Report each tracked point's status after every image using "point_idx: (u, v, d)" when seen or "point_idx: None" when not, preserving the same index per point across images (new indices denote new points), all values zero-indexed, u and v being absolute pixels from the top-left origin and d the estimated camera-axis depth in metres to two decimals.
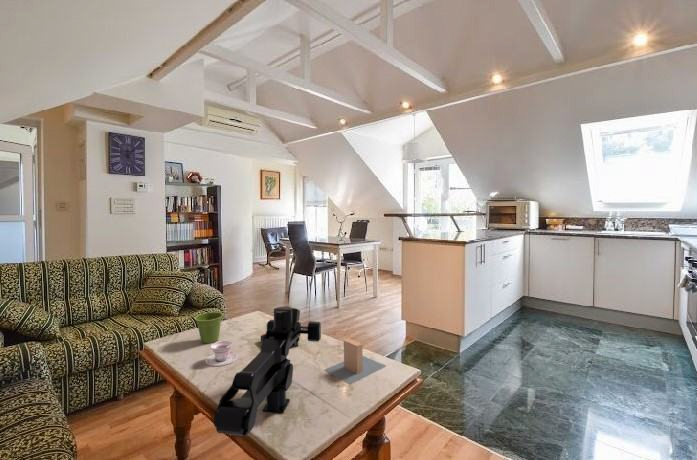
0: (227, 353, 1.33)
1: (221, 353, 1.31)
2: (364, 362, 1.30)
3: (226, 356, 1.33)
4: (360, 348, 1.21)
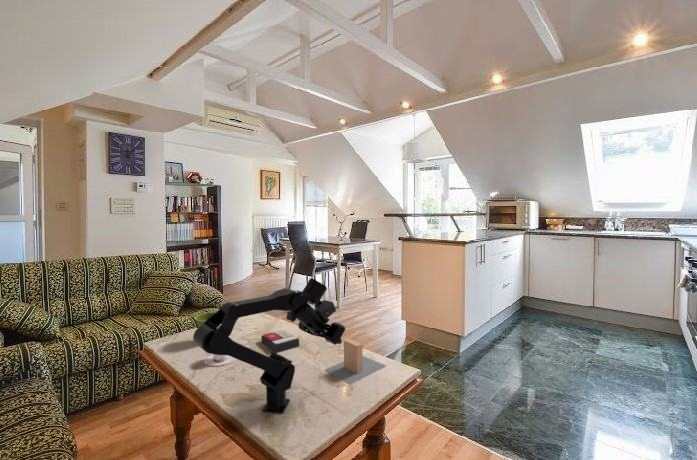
0: None
1: None
2: (364, 362, 1.30)
3: (225, 356, 1.33)
4: (360, 348, 1.21)
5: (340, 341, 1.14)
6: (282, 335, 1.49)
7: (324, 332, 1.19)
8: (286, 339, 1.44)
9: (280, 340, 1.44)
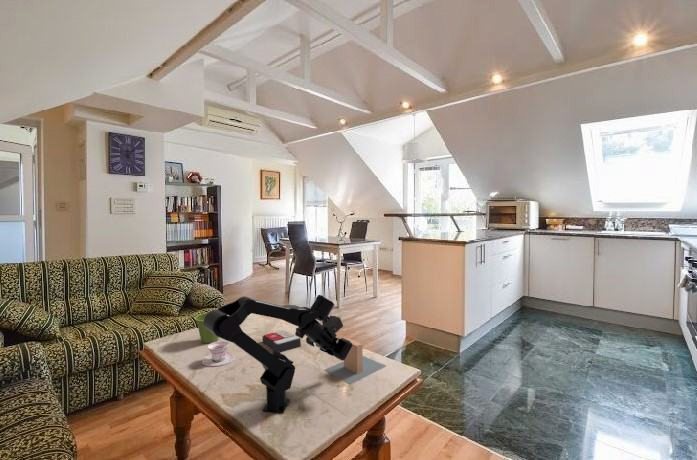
0: (224, 353, 1.33)
1: (218, 353, 1.31)
2: (364, 362, 1.30)
3: (223, 356, 1.33)
4: (360, 348, 1.21)
5: None
6: (283, 335, 1.49)
7: None
8: (288, 339, 1.44)
9: (282, 340, 1.43)
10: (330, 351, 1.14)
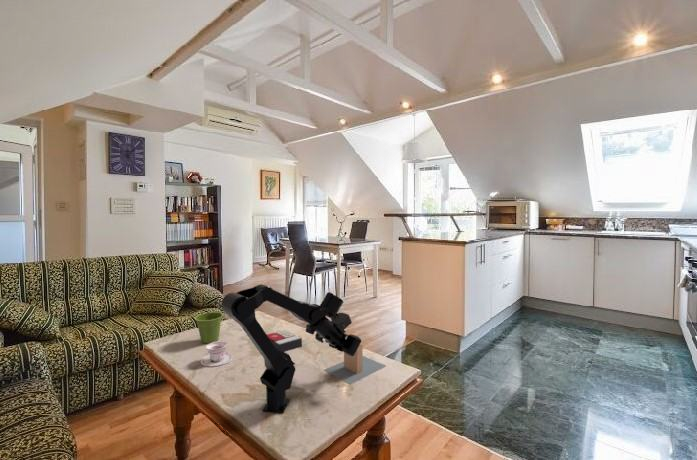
0: (222, 353, 1.33)
1: (216, 353, 1.31)
2: (364, 362, 1.30)
3: (221, 356, 1.32)
4: (360, 348, 1.21)
5: None
6: (284, 335, 1.49)
7: None
8: (289, 339, 1.44)
9: (283, 340, 1.43)
10: (339, 347, 1.17)
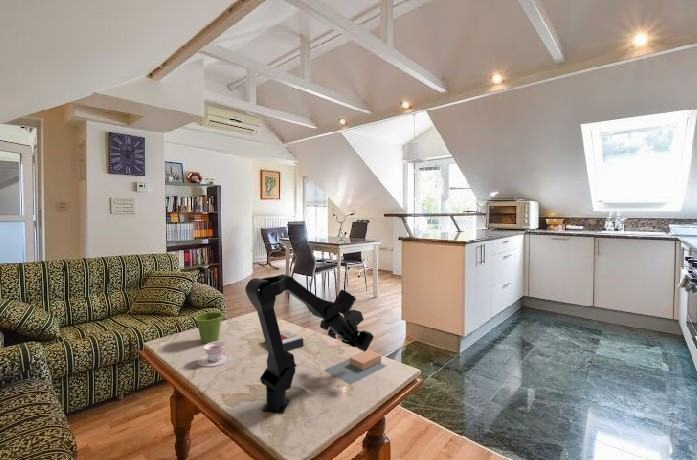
0: (220, 354, 1.33)
1: (214, 354, 1.31)
2: None
3: (219, 357, 1.32)
4: (379, 359, 1.29)
5: None
6: (286, 335, 1.49)
7: None
8: (290, 339, 1.44)
9: (285, 340, 1.43)
10: (352, 343, 1.21)
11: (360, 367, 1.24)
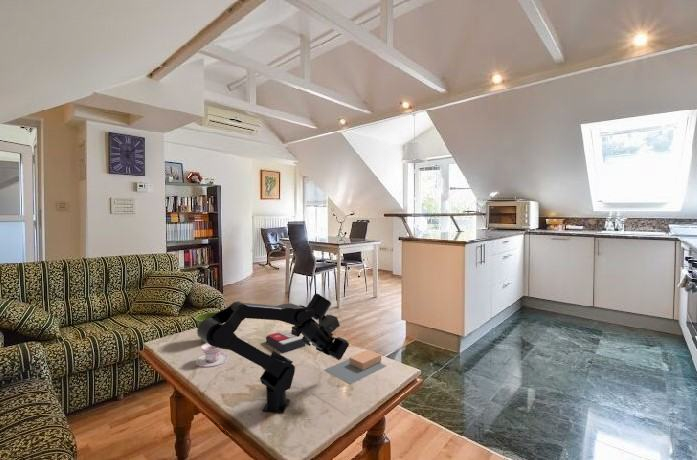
0: (218, 354, 1.33)
1: (212, 354, 1.31)
2: None
3: (217, 357, 1.32)
4: (379, 359, 1.29)
5: None
6: (287, 335, 1.49)
7: None
8: (292, 339, 1.44)
9: (286, 340, 1.43)
10: (326, 350, 1.13)
11: (360, 367, 1.24)
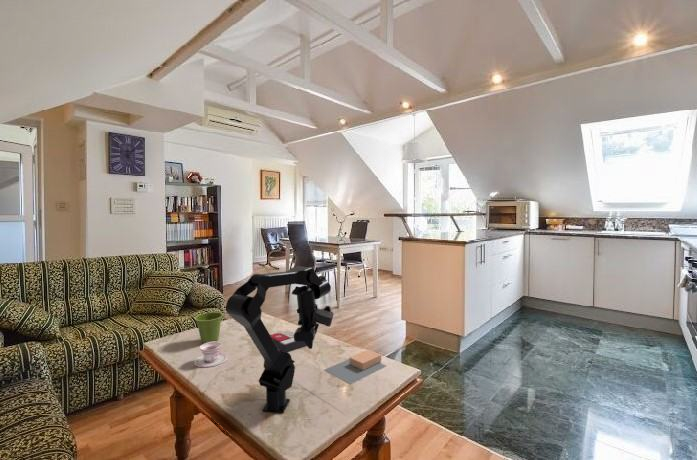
0: (216, 354, 1.32)
1: (210, 354, 1.30)
2: None
3: (215, 357, 1.32)
4: (379, 359, 1.29)
5: (310, 346, 1.14)
6: (289, 335, 1.49)
7: None
8: None
9: (288, 340, 1.43)
10: None
11: (360, 367, 1.24)
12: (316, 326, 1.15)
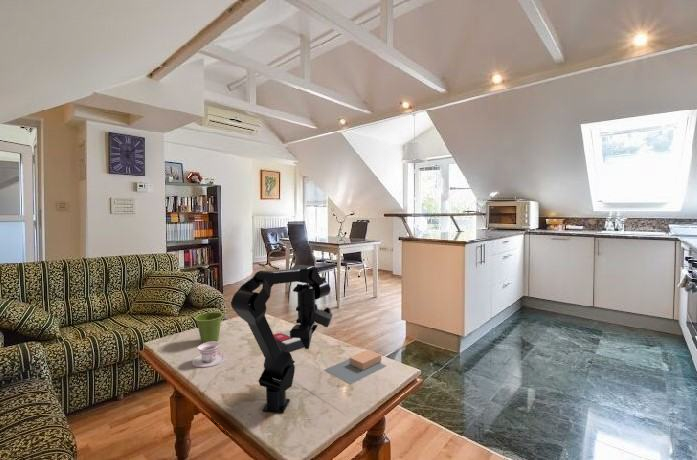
0: (214, 354, 1.32)
1: (208, 354, 1.30)
2: None
3: (213, 357, 1.32)
4: (379, 359, 1.29)
5: (306, 346, 1.14)
6: None
7: None
8: (295, 339, 1.44)
9: (289, 340, 1.43)
10: None
11: (360, 367, 1.24)
12: (314, 327, 1.15)
